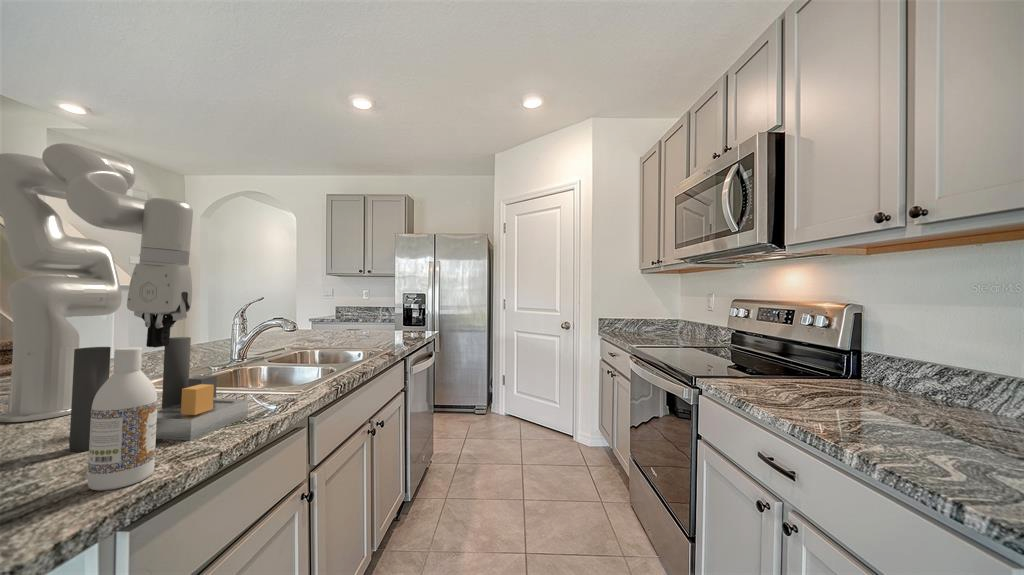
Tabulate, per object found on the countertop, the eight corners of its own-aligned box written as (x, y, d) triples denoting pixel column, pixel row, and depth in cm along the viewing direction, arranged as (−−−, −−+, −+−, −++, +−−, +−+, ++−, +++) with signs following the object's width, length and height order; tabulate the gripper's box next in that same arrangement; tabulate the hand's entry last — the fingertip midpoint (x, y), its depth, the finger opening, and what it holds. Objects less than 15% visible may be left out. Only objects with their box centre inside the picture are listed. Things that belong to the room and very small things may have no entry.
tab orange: (180, 414, 73) (182, 388, 73) (199, 408, 77) (200, 384, 77) (195, 414, 73) (196, 389, 73) (212, 408, 77) (213, 384, 77)
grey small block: (187, 401, 81) (188, 378, 81) (203, 396, 85) (204, 375, 85) (200, 402, 81) (201, 379, 81) (215, 397, 85) (216, 375, 85)
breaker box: (133, 437, 72) (134, 415, 72) (198, 414, 86) (199, 396, 86) (190, 440, 71) (191, 418, 71) (247, 417, 85) (248, 398, 85)
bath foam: (143, 485, 54) (150, 350, 55) (76, 496, 51) (83, 352, 52) (161, 466, 60) (166, 344, 61) (101, 475, 57) (108, 346, 58)
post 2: (155, 419, 82) (159, 338, 83) (174, 413, 86) (178, 336, 87) (173, 420, 82) (177, 339, 82) (192, 414, 86) (195, 337, 87)
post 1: (61, 451, 65) (66, 349, 65) (91, 441, 69) (96, 346, 70) (84, 452, 65) (89, 350, 65) (112, 443, 69) (117, 347, 70)
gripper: (111, 254, 74) (103, 346, 74) (180, 259, 73) (173, 352, 72) (151, 258, 81) (144, 341, 81) (214, 262, 80) (207, 346, 80)
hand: (157, 346), depth 77 cm, fingers closed
